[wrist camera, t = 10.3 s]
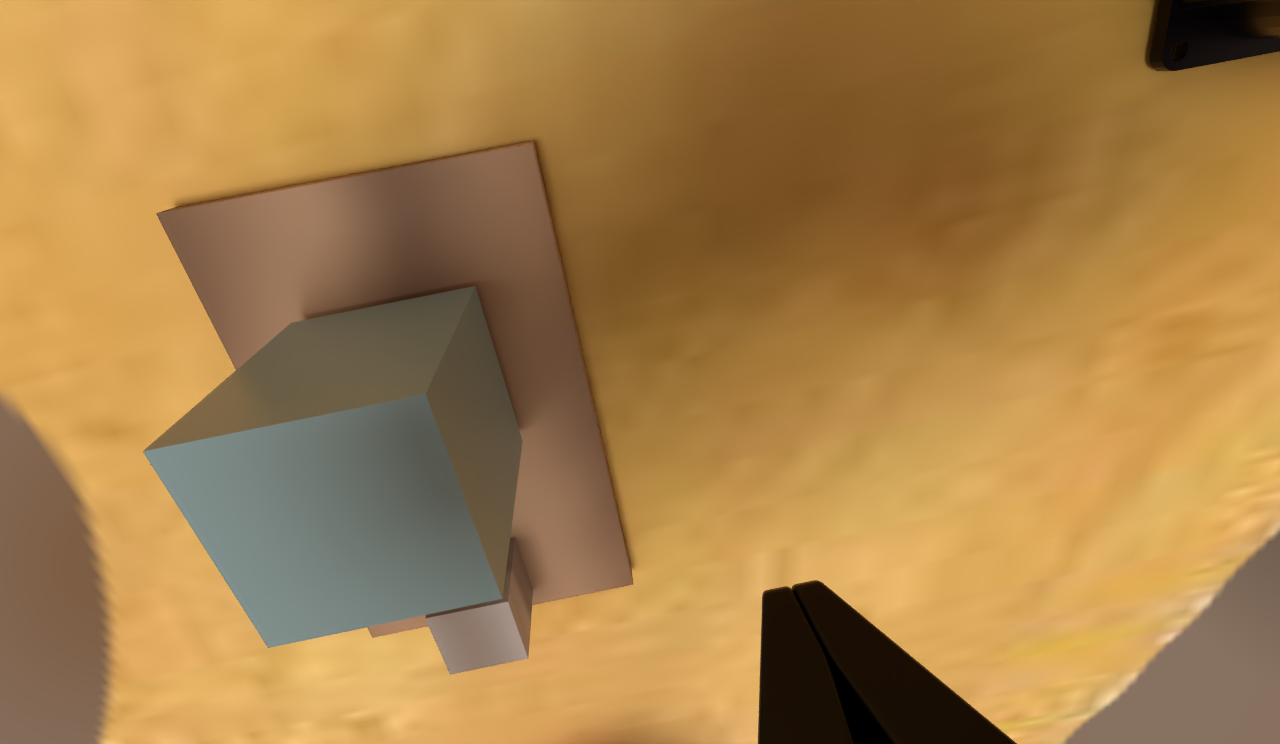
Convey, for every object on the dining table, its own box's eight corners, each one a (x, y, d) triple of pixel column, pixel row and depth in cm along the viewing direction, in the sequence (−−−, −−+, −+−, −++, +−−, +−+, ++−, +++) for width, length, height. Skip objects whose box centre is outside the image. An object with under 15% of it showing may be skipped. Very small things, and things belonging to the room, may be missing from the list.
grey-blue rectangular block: (475, 286, 17) (425, 394, 11) (522, 440, 19) (502, 598, 13) (291, 322, 17) (143, 451, 11) (360, 474, 19) (268, 647, 13)
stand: (534, 140, 17) (511, 178, 10) (631, 569, 24) (655, 756, 17) (173, 207, 17) (-87, 290, 10) (378, 620, 24) (304, 829, 17)
